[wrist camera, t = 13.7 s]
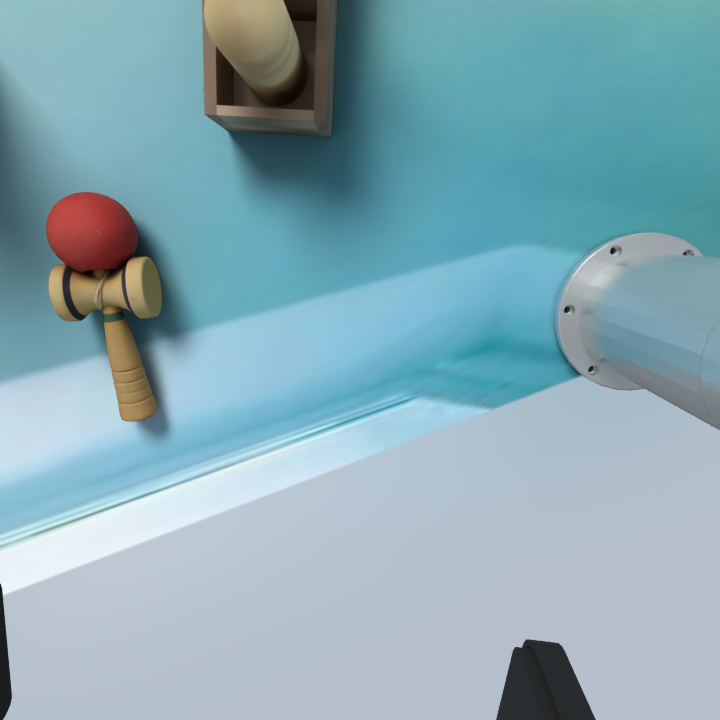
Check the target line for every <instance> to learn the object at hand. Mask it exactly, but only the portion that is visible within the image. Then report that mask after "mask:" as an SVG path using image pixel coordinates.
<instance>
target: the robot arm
mask: <svg viewBox="0 0 720 720" xmlns="http://www.w3.org/2000/svg"><path fill="white" fill-rule="evenodd" d="M611 248H613V253H612V254H610V250H611ZM683 254H684V255H683ZM566 306H567V307H568V310H567V311H566V312H564V309H565V307H566ZM554 327H555V332H556V338H557V341H558V344H559V346H560V349H561V351H562V353H563V355H564V356H565V358H566V359H567V361H568V362H569V364H570V365H571V366H572V367H574V368H575V369H576V370H577V371H578V372H579V373H580V374H581V375H583V376H584V377H586V378H587V379H589V380H591V381H593V382H595V383H597V384H599V385H601V386H605V387H609V388H613V389H619V390H637V389H647V390H648V391H650V392H652V393H654V394H656V395H657V396H659V397H661V398H663V399H665V400H666V401H668V402H670V403H672V404H674V405H675V406H677V407H679V408H681V409H683V410H684V411H687V412H688V413H690V414H692V415H694V416H695V417H697V418H699V419H701V420H702V421H704V422H706V423H708V424H710V425H711V426H713V427H715V428H717V429H719V430H720V257H706V256H704V255H703V254H702V253H701V252H700V251H699V250H698V249H697V248H696V247H694V246H693V245H691V244H690V243H688V242H687V241H685V240H682V239H680V238H677V237H675V236H672V235H667V234H661V233H635V234H628V235H624V236H621V237H618V238H615V239H611V240H609V241H607V242H606V243H604V244H602V245H600V246H598V247H596V248H595V249H594V250H592V251H591V252H590V253H588V254H587V255H586V256H585V257H583V258H582V259H581V261H580V262H579V263H578V264H577V265H576V266H575V267H574V268H573V269H572V271H571V272H570V274H569V275H568V277H567V279H566V280H565V282H564V283H563V286H562V288H561V291H560V293H559V296H558V299H557V303H556V308H555V323H554ZM589 367H591V369H590V370H588V369H589ZM11 698H12V693H11V681H10V670H9V659H8V648H7V637H6V626H5V616H4V605H3V594H2V587H1V584H0V720H3V719H4V717H5V715H6V713H7V711H8V709H9V706H10V703H11ZM496 720H595V717H594V715H593V713H592V711H591V708H590V706H589V704H588V702H587V700H586V697H585V695H584V693H583V691H582V689H581V686H580V684H579V682H578V680H577V677H576V675H575V673H574V671H573V668H572V666H571V664H570V662H569V660H568V657H567V655H566V653H565V651H564V649H563V647H562V646H561V645H560V644H559V643H552V642H545V641H537V640H526V641H525V642H524V644H523V646H522V648H519V647H515V648H514V650H513V653H512V657H511V661H510V665H509V670H508V674H507V678H506V682H505V686H504V690H503V694H502V699H501V703H500V707H499V711H498V715H497V719H496Z"/></svg>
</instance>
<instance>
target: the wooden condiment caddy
mask: <svg viewBox="0 0 720 720" xmlns="http://www.w3.org/2000/svg"><path fill="white" fill-rule="evenodd" d="M337 1H338V0H202V13H203V58H204V103H205V115H206V116H208V117H209V118H210V119H212V120H213V121H214V122H216V123H217V124H219V125H220V126H221V127H223V128H224V129H225V130H227V131H236V132H254V133H271V134H289V135H306V136H324V137H332V127H333V102H334V77H335V52H336V27H337Z"/></svg>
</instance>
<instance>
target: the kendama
mask: <svg viewBox="0 0 720 720" xmlns="http://www.w3.org/2000/svg"><path fill="white" fill-rule="evenodd" d="M46 232H47V238H48V241H49V244H50V246H51V248H52V250H53V251H54V253H55V254H56V256H58V257H59V258H60V259H61V260H62V261H63V262H64V263H65V264H61V265H56V266H55V267H54V268H53V269H52V271H51V273H50V276H49V283H48V287H49V295H50V300H51V303H52V306H53V308H54V310H55V312H56V313H57V314H58V316H59V317H60V318H62V319H63V320H65V321H81V320H83V319H84V318H85V317H86V316H87V315H88V314H89V313H90V312H92V311H93V310H95V309H98V310H102V311H103V319H104V328H105V337H106V344H107V351H108V356H109V361H110V366H111V369H112V375H113V379H114V385H115V389H116V394H117V399H118V405H119V411H120V416H121V418H122V420H124V421H130V422H131V421H139V420H143V419H146V418H148V417H150V416H152V415H153V414H155V413H156V412H157V410H158V407H157V404H156V401H155V399H154V396H153V393H152V390H151V387H150V385H149V382H148V379H147V376H146V374H145V370H144V367H143V364H142V361H141V357H140V354H139V351H138V348H137V345H136V343H135V340H134V338H133V335H132V333H131V330H130V328H129V326H128V323H127V321H126V319H125V316H124V314H123V312H122V310H121V308H124V309H127V310H129V311H131V312H133V313H134V314H135V315H136V316H137V317H138V318H141V319H145V318H154V317H157V316H158V315H159V313H160V311H161V306H162V290H161V282H160V278H159V274H158V271H157V268H156V266H155V264H154V262H153V261H152V260H151V259H150V258H149V257H134V256H133V255H134V253H135V251H136V248H137V244H138V233H137V229H136V226H135V223H134V221H133V219H132V217H131V215H130V214H129V212H128V211H127V210H126V209H125V208H124V207H123V206H122V205H121V204H120V203H119V202H117V201H115V200H114V199H112V198H110V197H107V196H105V195H102V194H98V193H90V192H82V193H75V194H72V195H69V196H67V197H65V198H63V199H61V200H60V201H58V202H57V203H56V204H55V205H54V206H53V208H52V209H51V211H50V213H49V215H48V219H47V224H46Z"/></svg>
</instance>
